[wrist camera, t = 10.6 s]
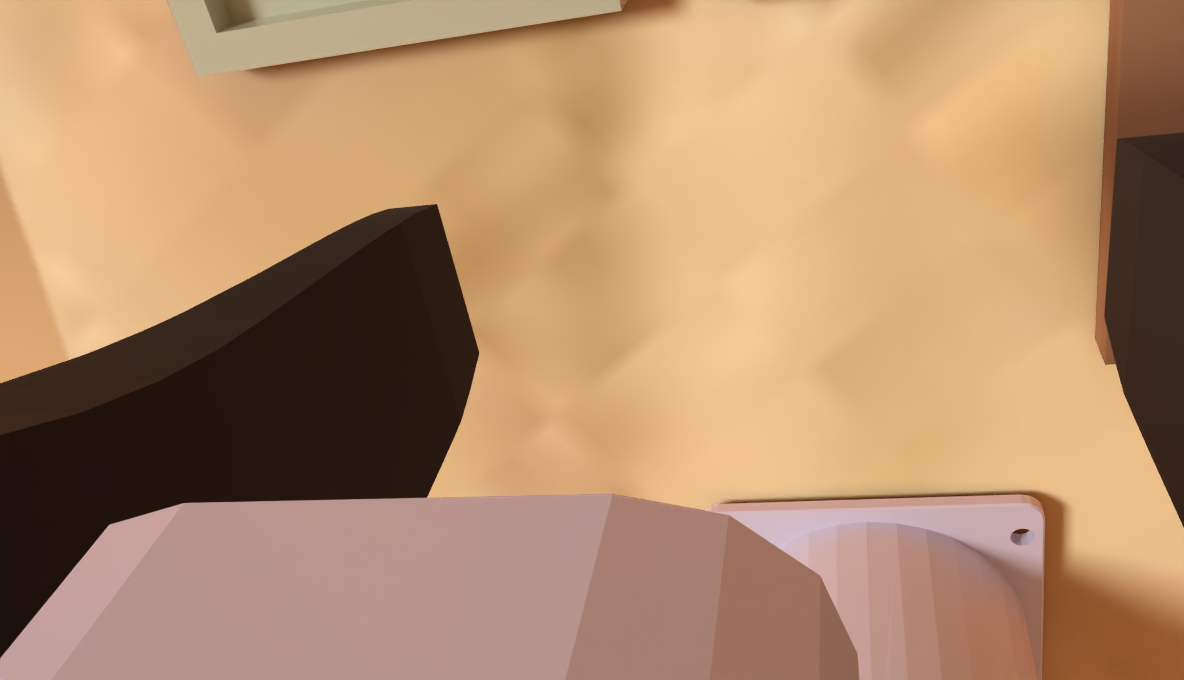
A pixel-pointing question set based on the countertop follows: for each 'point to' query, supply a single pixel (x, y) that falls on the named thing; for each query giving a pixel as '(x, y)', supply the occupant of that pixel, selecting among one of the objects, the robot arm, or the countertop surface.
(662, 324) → the countertop surface
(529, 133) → the countertop surface
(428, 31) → the tray sage
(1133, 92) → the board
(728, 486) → the countertop surface
